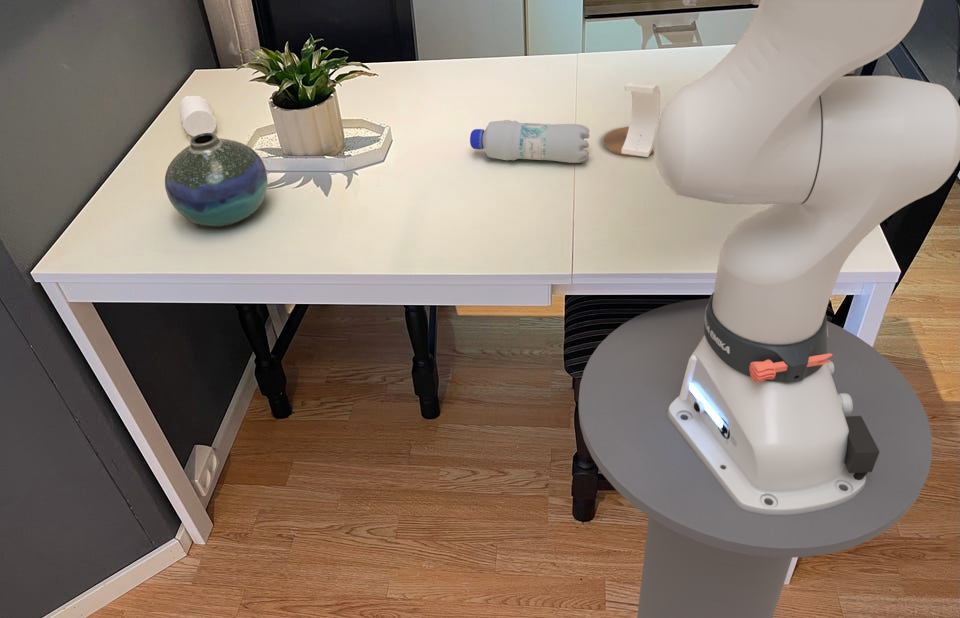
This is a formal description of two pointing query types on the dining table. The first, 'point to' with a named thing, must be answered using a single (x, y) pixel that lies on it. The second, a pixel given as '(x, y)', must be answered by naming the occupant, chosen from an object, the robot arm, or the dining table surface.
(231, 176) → the vase
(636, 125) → the headphone stand
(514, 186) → the dining table surface
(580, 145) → the bottle
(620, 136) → the coaster
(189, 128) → the roll
